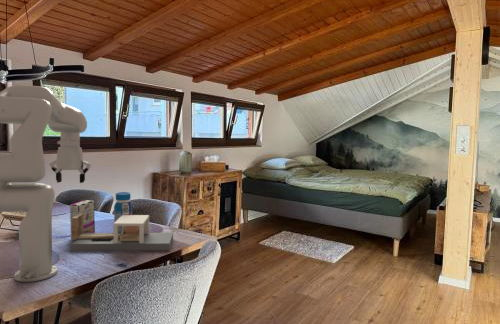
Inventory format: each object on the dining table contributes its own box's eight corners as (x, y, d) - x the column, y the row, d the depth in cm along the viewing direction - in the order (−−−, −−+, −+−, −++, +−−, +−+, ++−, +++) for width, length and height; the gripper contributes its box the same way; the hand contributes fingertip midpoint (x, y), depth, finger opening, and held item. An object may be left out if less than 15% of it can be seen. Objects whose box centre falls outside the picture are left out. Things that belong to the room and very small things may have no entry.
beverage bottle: (110, 235, 165) (110, 194, 164) (118, 230, 174) (118, 191, 172) (128, 236, 165) (128, 195, 163) (134, 231, 173) (134, 192, 172)
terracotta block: (136, 236, 151) (136, 225, 151) (125, 236, 150) (125, 225, 150) (139, 233, 156) (139, 222, 155) (127, 233, 155) (127, 222, 155)
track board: (169, 250, 148) (169, 223, 147) (70, 251, 143) (70, 223, 142) (173, 238, 163) (173, 214, 162) (84, 239, 159) (84, 214, 158)
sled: (139, 240, 149) (139, 219, 148) (70, 240, 145) (70, 218, 145) (143, 233, 159) (143, 213, 158) (79, 234, 155) (79, 213, 155)
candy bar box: (86, 233, 168) (85, 199, 167) (95, 233, 167) (95, 200, 166) (69, 239, 157) (69, 204, 156) (79, 240, 156) (79, 204, 155)
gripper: (45, 143, 148) (46, 183, 150) (87, 144, 150) (87, 183, 152) (53, 143, 156) (54, 180, 157) (93, 144, 158) (93, 181, 159)
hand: (70, 182), depth 154 cm, fingers open, 9 cm apart
